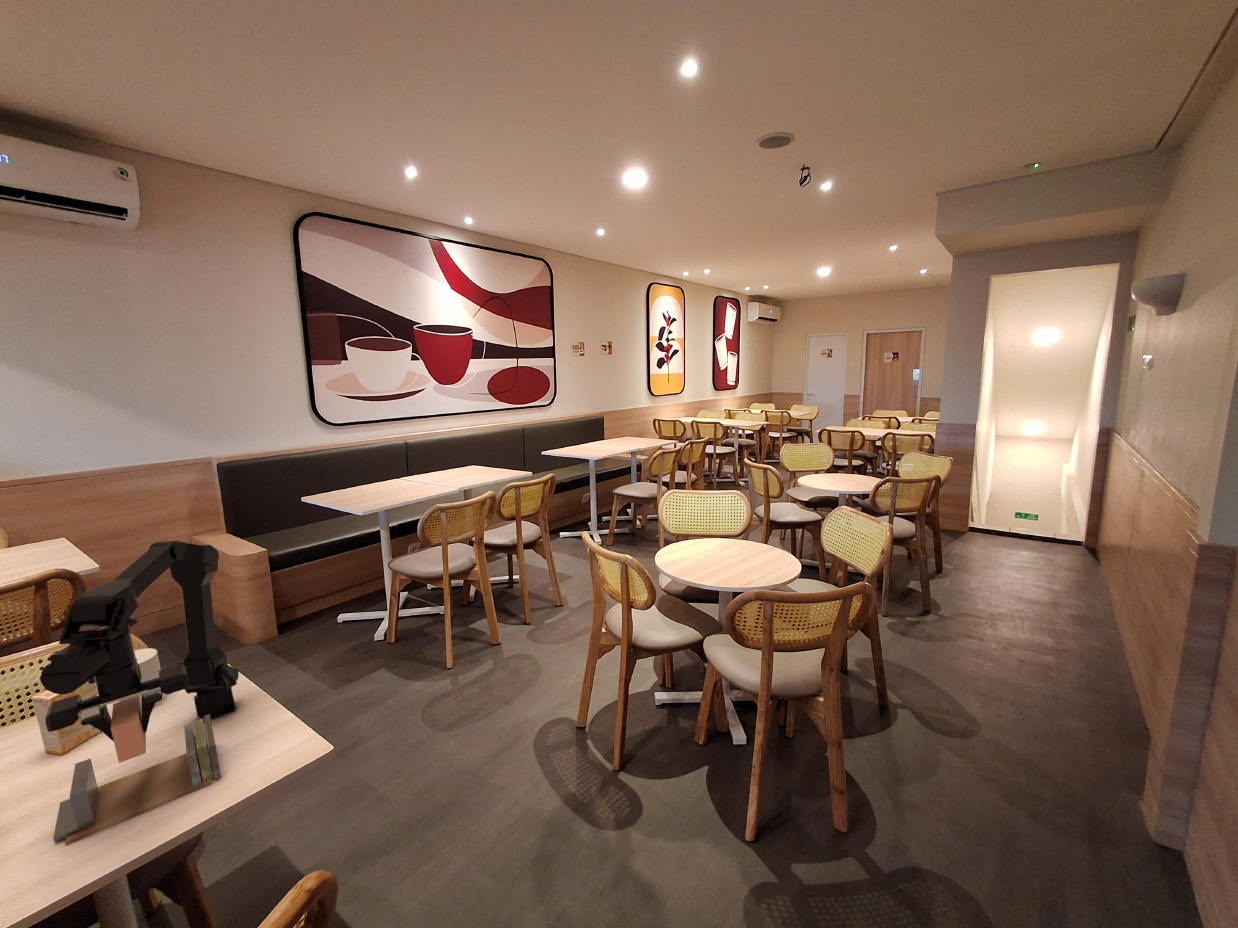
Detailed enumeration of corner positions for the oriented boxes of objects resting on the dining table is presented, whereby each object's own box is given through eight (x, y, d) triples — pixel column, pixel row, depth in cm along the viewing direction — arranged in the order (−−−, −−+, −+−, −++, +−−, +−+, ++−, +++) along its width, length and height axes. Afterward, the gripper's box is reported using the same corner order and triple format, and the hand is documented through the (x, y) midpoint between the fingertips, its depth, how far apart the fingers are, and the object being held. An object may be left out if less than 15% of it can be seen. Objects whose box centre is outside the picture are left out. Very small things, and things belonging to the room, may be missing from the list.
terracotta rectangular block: (145, 727, 105) (138, 695, 103) (145, 753, 98) (138, 719, 97) (120, 736, 103) (113, 703, 101) (119, 762, 96) (110, 728, 94)
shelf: (215, 744, 115) (209, 712, 113) (221, 779, 105) (215, 745, 103) (73, 798, 101) (64, 763, 99) (65, 845, 91) (55, 807, 90)
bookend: (98, 790, 102) (90, 758, 101) (94, 824, 94) (86, 790, 93) (60, 804, 99) (52, 771, 97) (54, 841, 91) (44, 806, 90)
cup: (138, 694, 132) (128, 649, 130) (174, 691, 133) (165, 647, 130) (111, 716, 124) (100, 668, 122) (150, 713, 125) (140, 666, 123)
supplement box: (62, 756, 112) (48, 699, 109) (44, 752, 113) (29, 697, 110) (107, 729, 120) (94, 675, 117) (89, 726, 121) (76, 673, 118)
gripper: (178, 625, 109) (192, 694, 112) (45, 660, 97) (64, 736, 100) (180, 647, 100) (195, 721, 104) (35, 688, 89) (57, 771, 92)
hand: (131, 736), depth 100 cm, fingers closed on terracotta rectangular block, 4 cm apart
